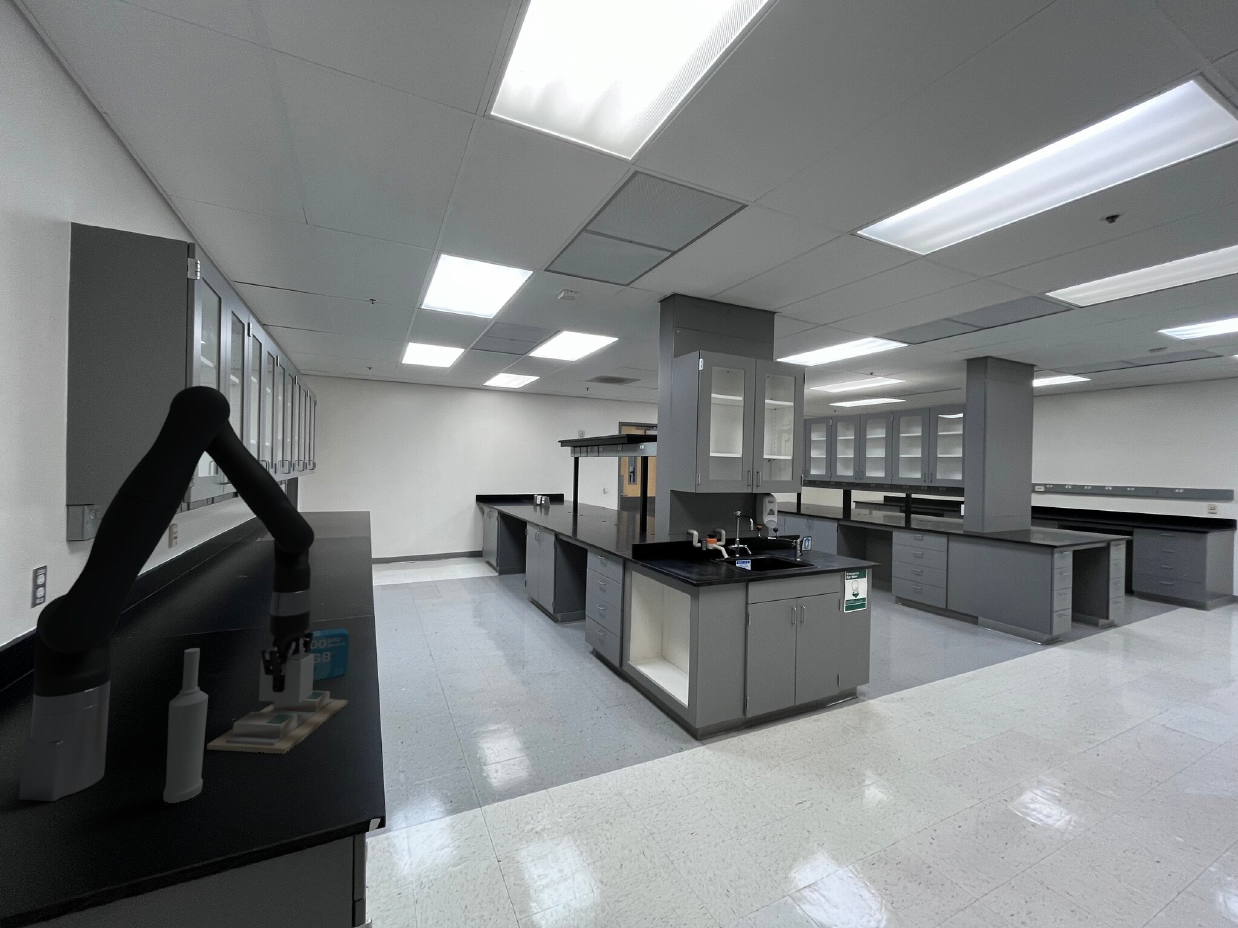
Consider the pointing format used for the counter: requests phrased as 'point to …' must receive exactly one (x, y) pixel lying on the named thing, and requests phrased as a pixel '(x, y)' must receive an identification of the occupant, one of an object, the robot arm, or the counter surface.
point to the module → (290, 680)
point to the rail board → (285, 741)
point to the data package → (330, 653)
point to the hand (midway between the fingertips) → (286, 686)
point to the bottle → (186, 735)
